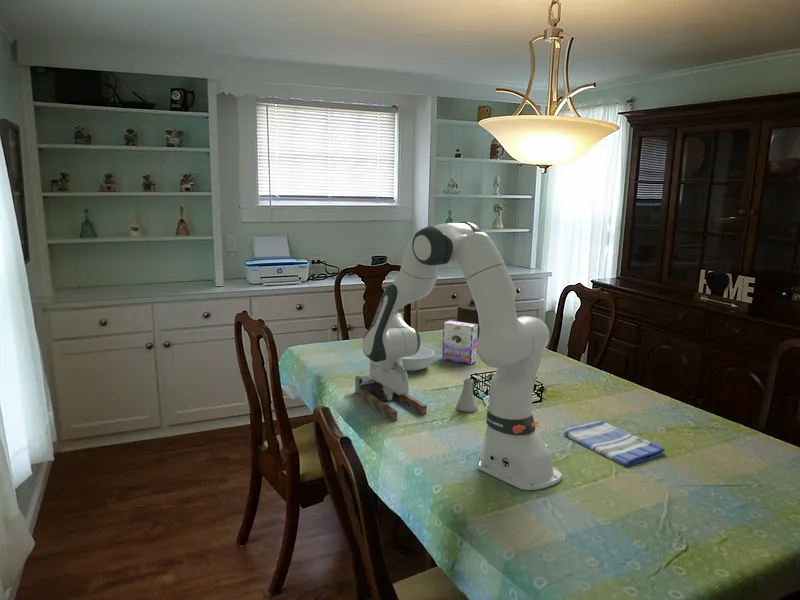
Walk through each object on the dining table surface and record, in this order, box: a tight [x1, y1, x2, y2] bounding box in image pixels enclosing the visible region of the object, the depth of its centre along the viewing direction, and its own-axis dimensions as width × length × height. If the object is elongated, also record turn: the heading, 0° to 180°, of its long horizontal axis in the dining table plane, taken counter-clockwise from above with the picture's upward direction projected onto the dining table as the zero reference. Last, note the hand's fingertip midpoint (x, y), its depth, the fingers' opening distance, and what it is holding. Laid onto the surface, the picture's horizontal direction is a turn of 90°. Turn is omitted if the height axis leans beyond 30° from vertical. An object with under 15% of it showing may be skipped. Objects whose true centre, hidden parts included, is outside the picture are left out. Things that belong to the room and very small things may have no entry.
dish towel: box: [563, 420, 666, 467], centre depth 168 cm, size 17×24×3 cm
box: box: [374, 381, 397, 402], centre depth 200 cm, size 6×6×7 cm
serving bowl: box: [402, 346, 435, 372], centre depth 235 cm, size 21×21×7 cm
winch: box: [354, 374, 374, 396], centre depth 206 cm, size 4×10×6 cm, turn 121°
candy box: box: [442, 319, 478, 365], centre depth 246 cm, size 14×6×16 cm, turn 58°
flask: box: [455, 378, 478, 413], centre depth 192 cm, size 7×7×10 cm
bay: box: [358, 381, 428, 422], centre depth 193 cm, size 24×12×5 cm, turn 31°
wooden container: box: [456, 297, 480, 341], centre depth 273 cm, size 15×15×22 cm
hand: (388, 399), depth 195 cm, fingers closed
